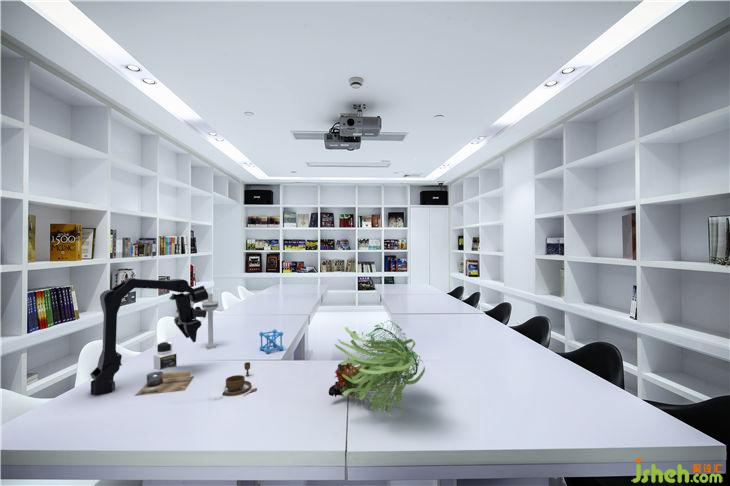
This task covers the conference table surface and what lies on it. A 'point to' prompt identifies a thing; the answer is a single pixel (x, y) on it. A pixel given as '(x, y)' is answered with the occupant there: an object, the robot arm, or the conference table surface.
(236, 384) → the place setting
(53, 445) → the conference table surface
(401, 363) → the plant
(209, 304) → the model tower
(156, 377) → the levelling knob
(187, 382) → the base plate
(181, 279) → the robot arm
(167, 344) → the medicine bottle
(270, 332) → the molecular structure
